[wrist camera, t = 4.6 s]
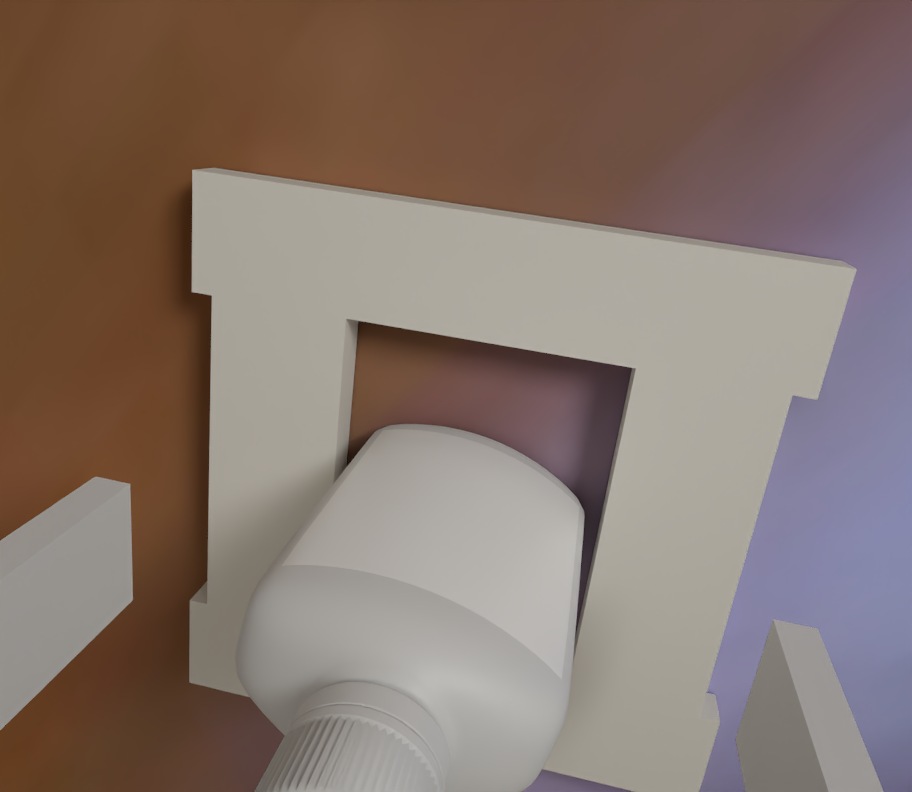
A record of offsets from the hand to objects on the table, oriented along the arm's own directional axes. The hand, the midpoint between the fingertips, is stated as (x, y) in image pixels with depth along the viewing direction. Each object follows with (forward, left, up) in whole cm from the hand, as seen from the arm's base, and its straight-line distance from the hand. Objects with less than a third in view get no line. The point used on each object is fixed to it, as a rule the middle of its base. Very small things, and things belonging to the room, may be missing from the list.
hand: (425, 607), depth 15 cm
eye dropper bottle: (0, 0, -5) cm, 5 cm away
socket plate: (0, 0, -5) cm, 5 cm away
